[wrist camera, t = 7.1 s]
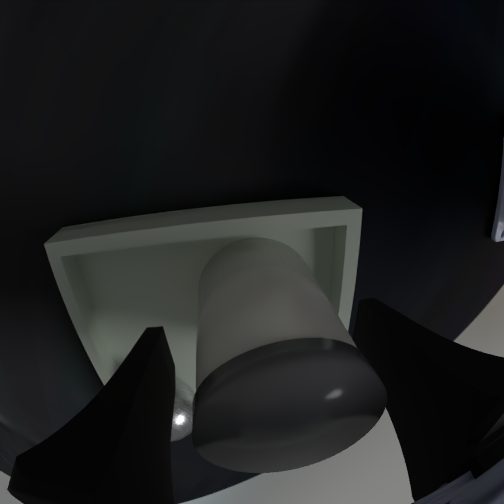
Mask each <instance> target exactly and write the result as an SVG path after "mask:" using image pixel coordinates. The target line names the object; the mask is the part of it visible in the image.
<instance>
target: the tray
mask: <svg viewBox="0 0 504 504" xmlns="http://www.w3.org/2000/svg"><path fill="white" fill-rule="evenodd" d="M361 221H362V208H361V207H359V206H358V205H356V204H355V203H353V202H352V201H350V200H348V199H347V198H345V197H344V196H334V197H317V198H302V199H289V200H276V201H264V202H252V203H242V204H231V205H222V206H212V207H203V208H194V209H185V210H177V211H169V212H161V213H153V214H146V215H139V216H131V217H124V218H118V219H111V220H104V221H98V222H92V223H86V224H80V225H74V226H68V227H62V228H61V229H60V230H59V231H58V232H57V233H56V234H55V235H53V236H52V237H51V238H50V239H49V240H48V241H47V242H46V243H45V244H44V246H45V249H46V252H47V255H48V259H49V262H50V265H51V268H52V271H53V274H54V276H55V279H56V282H57V285H58V287H59V290H60V293H61V295H62V298H63V300H64V303H65V305H66V308H67V310H68V313H69V315H70V317H71V320H72V322H73V324H74V327H75V329H76V331H77V333H78V335H79V338H80V340H81V342H82V344H83V346H84V348H85V350H86V352H87V354H88V356H89V358H90V360H91V362H92V364H93V366H94V368H95V370H96V372H97V373H98V375H99V377H100V379H101V381H102V382H103V384H104V386H105V384H106V383H107V382H108V381H109V379H110V378H111V377H112V376H113V374H114V373H115V372H116V370H117V369H118V368H119V366H120V365H121V364H122V362H123V361H124V359H125V358H126V357H127V355H128V354H129V352H130V351H131V349H132V348H133V346H134V345H135V343H136V342H137V341H138V339H139V338H140V336H141V335H142V333H143V332H144V330H145V329H146V328H147V327H159V326H163V328H164V331H165V335H166V338H167V341H168V345H169V348H170V351H171V354H172V358H173V361H174V364H175V378H178V379H180V380H182V381H183V382H185V383H186V384H187V385H189V386H190V387H191V389H192V390H193V391H194V393H196V335H197V302H198V284H199V279H200V276H201V273H202V271H203V269H204V267H205V266H206V264H207V263H208V262H209V260H210V259H211V258H212V257H213V256H214V255H215V254H216V253H217V252H219V251H220V250H221V249H223V248H224V247H226V246H228V245H230V244H232V243H235V242H237V241H241V240H244V239H250V238H267V239H273V240H277V241H279V242H282V243H284V244H286V245H288V246H290V247H291V248H292V249H294V250H295V251H296V252H297V253H298V254H299V255H300V256H301V257H302V259H303V260H304V262H305V263H306V265H307V266H308V268H309V270H310V271H311V273H312V274H313V276H314V278H315V279H316V281H317V282H318V284H319V286H320V287H321V289H322V290H323V292H324V294H325V295H326V297H327V298H328V300H329V302H330V303H331V305H332V307H333V308H334V310H335V311H336V313H337V315H338V316H339V318H340V320H341V321H342V323H343V325H344V326H345V328H346V330H347V331H348V327H349V321H350V315H351V309H352V302H353V295H354V288H355V280H356V272H357V263H358V254H359V244H360V233H361Z"/></svg>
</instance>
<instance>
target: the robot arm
mask: <svg viewBox="0 0 504 504" xmlns="http://www.w3.org/2000/svg"><path fill="white" fill-rule="evenodd" d="M491 237H492V239H493V240H494V241H496V242H499V241H504V139H503V157H502V169H501V178H500V187H499V194H498V201H497V207H496V213H495V218H494V223H493V228H492V233H491ZM352 340H353V341H354V343H355V345H356V346H357V348H358V349H360V350H361V351H362V352H363V353H364V354H365V355H366V357H367V358H368V360H369V361H370V363H371V364H372V366H373V368H374V370H375V371H376V373H377V375H378V376H379V378H380V380H381V381H382V383H383V385H384V387H385V389H386V392H387V403H386V409H387V411H388V413H389V416H390V418H391V421H392V423H393V426H394V428H395V431H396V434H397V437H398V440H399V443H400V446H401V449H402V452H403V455H404V459H405V463H406V467H407V471H408V476H409V481H410V485H411V491H412V497H413V499H414V501H415V502H414V503H412V504H504V357H499V356H495V355H491V354H487V353H483V352H480V351H477V350H474V349H471V348H468V347H465V346H463V345H460V344H458V343H456V342H453V341H451V340H448V339H446V338H444V337H442V336H440V335H438V334H436V333H434V332H432V331H430V330H428V329H427V328H425V327H423V326H421V325H419V324H418V323H416V322H414V321H412V320H411V319H409V318H407V317H406V316H404V315H402V314H401V313H399V312H397V311H396V310H394V309H392V308H391V307H389V306H387V305H386V304H384V303H382V302H380V301H378V300H377V299H375V298H370V299H364V300H359V306H358V312H357V317H356V323H355V329H354V334H353V339H352ZM175 391H176V379H175V364H174V361H173V358H172V354H171V351H170V348H169V345H168V341H167V338H166V335H165V331H164V328H163V326H159V327H147V328H146V329H145V330H144V332H143V333H142V335H141V336H140V338H139V339H138V341H137V342H136V343H135V345H134V346H133V348H132V349H131V351H130V352H129V354H128V355H127V357H126V358H125V359H124V361H123V362H122V364H121V365H120V366H119V368H118V369H117V370H116V372H115V373H114V374H113V376H112V377H111V378H110V379H109V381H108V382H107V383H106V384H105V386H104V387H103V388H102V389H101V390H100V392H99V393H98V394H97V395H96V396H95V397H94V398H93V399H92V400H91V401H90V402H89V403H88V405H87V406H86V407H85V408H83V409H82V410H81V411H80V412H79V413H78V414H77V415H76V416H75V417H73V418H72V419H71V420H70V421H69V422H68V423H67V424H66V425H64V426H63V427H62V428H60V429H59V430H58V431H57V432H55V433H54V434H52V435H51V436H50V437H48V438H47V439H45V440H44V441H42V442H41V443H39V444H38V445H36V446H34V447H33V448H31V449H29V450H27V451H26V452H24V453H22V454H20V455H18V456H17V457H16V460H15V463H14V467H13V470H12V474H11V478H10V482H9V486H8V490H9V492H10V494H11V495H13V496H14V497H15V498H16V499H18V500H19V501H21V502H22V503H24V504H174V496H173V486H172V474H171V455H170V446H171V431H172V421H173V411H174V401H175Z"/></svg>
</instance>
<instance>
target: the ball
mask: <svg viewBox="0 0 504 504" xmlns="http://www.w3.org/2000/svg"><path fill="white" fill-rule="evenodd" d="M175 379H176V391H175V401H174V411H173V421H172V431H171V441H176V440H180V439H182V438H184V437H186V436H187V435H189V434H190V433H191V432H192V403H193V398H194V395H195V393H194V391H193V390H192V389H191V387H190V386H189V385H187V384H186V383H185V382H183V381H182V380H180V379H178V378H175Z"/></svg>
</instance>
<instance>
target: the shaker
mask: <svg viewBox="0 0 504 504" xmlns="http://www.w3.org/2000/svg"><path fill="white" fill-rule="evenodd" d="M386 403H387V392H386V389H385V387H384V385H383V383H382V381H381V380H380V378H379V376H378V375H377V373H376V371H375V370H374V368H373V366H372V364H371V363H370V361H369V360H368V358H367V357H366V355H365V354H364V353H363V352H362V351H361V350H360V349H358V348H357V346H356V345H355V343H354V341H353V340H352V338H351V336H350V335H349V333H348V331H347V330H346V328H345V326H344V325H343V323H342V321H341V320H340V318H339V316H338V315H337V313H336V311H335V310H334V308H333V307H332V305H331V303H330V302H329V300H328V298H327V297H326V295H325V294H324V292H323V290H322V289H321V287H320V286H319V284H318V282H317V281H316V279H315V278H314V276H313V274H312V273H311V271H310V270H309V268H308V266H307V265H306V263H305V262H304V260H303V259H302V257H301V256H300V255H299V254H298V253H297V252H296V251H295V250H294V249H292V248H291V247H290V246H288V245H286V244H284V243H282V242H279V241H277V240H273V239H267V238H250V239H244V240H241V241H237V242H235V243H232V244H230V245H228V246H226V247H224V248H223V249H221V250H220V251H219V252H217V253H216V254H215V255H214V256H213V257H212V258H211V259H210V260H209V262H208V263H207V264H206V266H205V267H204V269H203V271H202V273H201V276H200V279H199V284H198V302H197V335H196V393H195V395H194V398H193V403H192V439H193V444H194V447H195V449H196V450H197V452H198V453H199V454H200V455H201V456H202V457H203V458H205V459H206V460H207V461H209V462H211V463H213V464H215V465H217V466H220V467H223V468H226V469H230V470H234V471H240V472H250V473H269V472H279V471H286V470H292V469H297V468H301V467H304V466H308V465H311V464H314V463H317V462H320V461H322V460H325V459H327V458H330V457H332V456H334V455H336V454H338V453H340V452H341V451H343V450H345V449H347V448H348V447H350V446H351V445H353V444H354V443H356V442H357V441H358V440H360V439H361V438H362V437H363V436H365V435H366V434H367V433H368V432H369V431H370V430H371V429H372V428H373V427H374V426H375V424H376V423H377V422H378V420H379V419H380V417H381V416H382V414H383V412H384V410H385V407H386Z"/></svg>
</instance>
